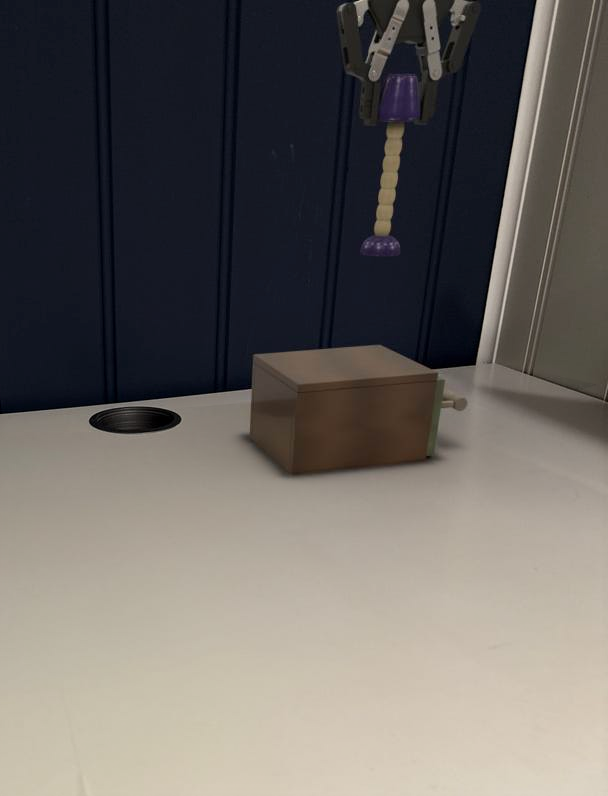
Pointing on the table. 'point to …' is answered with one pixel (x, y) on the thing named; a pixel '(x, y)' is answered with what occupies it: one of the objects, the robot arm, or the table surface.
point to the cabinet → (341, 408)
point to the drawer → (442, 400)
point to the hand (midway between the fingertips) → (395, 123)
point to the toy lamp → (392, 155)
